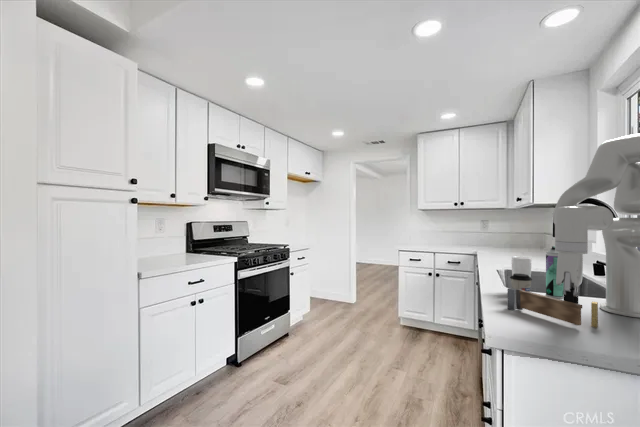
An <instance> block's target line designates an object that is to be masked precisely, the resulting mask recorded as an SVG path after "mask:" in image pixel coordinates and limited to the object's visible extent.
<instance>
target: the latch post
mask: <svg viewBox="0 0 640 427" xmlns="http://www.w3.org/2000/svg"><path fill="white" fill-rule="evenodd" d="M590 306H591V309H590V310H591V311H590V312H591V320H590V321H591V322H590V323H591V325H590V326H591V327H592V328H596V329H598V327H599V302H597V301H592V302H591V303H590Z"/></svg>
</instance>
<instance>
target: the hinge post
mask: <svg viewBox="0 0 640 427" xmlns="http://www.w3.org/2000/svg"><path fill="white" fill-rule="evenodd" d="M507 309H508V310H511V311H515V310H517V309H516V289H514V288H512V287H508V288H507Z"/></svg>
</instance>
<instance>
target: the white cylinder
mask: <svg viewBox="0 0 640 427" xmlns="http://www.w3.org/2000/svg"><path fill="white" fill-rule="evenodd" d="M511 274H512V275H511V276H513V274H526V275H529V277H530V278H532V277H531V275H532V258H531V257H528V256H521V255H520V256H517V255H515V256H511Z"/></svg>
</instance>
